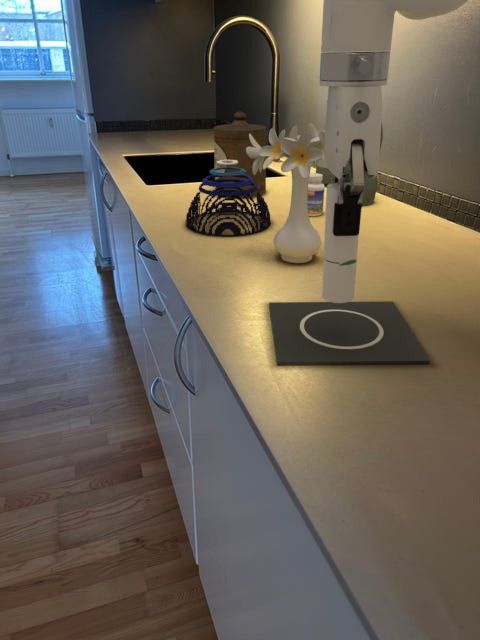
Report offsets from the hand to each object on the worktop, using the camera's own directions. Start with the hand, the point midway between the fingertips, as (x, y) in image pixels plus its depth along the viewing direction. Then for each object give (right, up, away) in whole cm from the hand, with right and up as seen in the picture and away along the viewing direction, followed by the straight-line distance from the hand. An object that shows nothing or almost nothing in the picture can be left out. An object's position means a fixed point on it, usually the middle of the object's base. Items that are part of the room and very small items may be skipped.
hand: (341, 227), depth 66 cm
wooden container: (-13, +25, +85) cm, 89 cm away
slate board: (+2, -14, +9) cm, 16 cm away
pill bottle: (+5, +15, +64) cm, 66 cm away
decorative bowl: (-16, +11, +57) cm, 60 cm away
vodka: (+19, +20, +74) cm, 79 cm away
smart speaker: (+15, +30, +94) cm, 99 cm away
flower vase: (-3, 0, +36) cm, 36 cm away
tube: (0, -9, +5) cm, 10 cm away
